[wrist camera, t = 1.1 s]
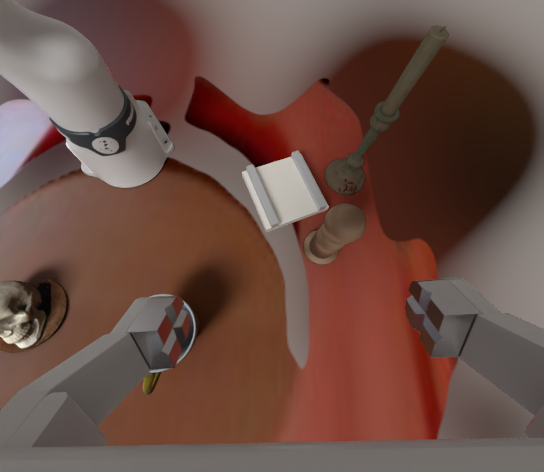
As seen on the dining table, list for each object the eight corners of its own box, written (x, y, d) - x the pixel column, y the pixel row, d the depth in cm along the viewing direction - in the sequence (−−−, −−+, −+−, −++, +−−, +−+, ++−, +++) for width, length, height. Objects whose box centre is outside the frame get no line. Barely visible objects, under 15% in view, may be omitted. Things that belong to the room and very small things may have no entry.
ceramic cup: (159, 294, 43) (132, 289, 34) (214, 301, 44) (203, 298, 34) (137, 375, 39) (100, 394, 30) (198, 382, 39) (181, 404, 30)
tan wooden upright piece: (297, 238, 49) (318, 202, 33) (327, 226, 50) (361, 186, 34) (312, 270, 47) (341, 247, 31) (343, 257, 48) (386, 229, 32)
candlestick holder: (324, 193, 52) (408, 48, 24) (324, 158, 55) (399, -9, 27) (364, 197, 53) (495, 59, 24) (362, 162, 56) (476, 2, 27)
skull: (72, 336, 39) (-27, 361, 31) (55, 345, 45) (-34, 368, 36) (66, 267, 42) (-26, 272, 34) (50, 283, 48) (-33, 291, 39)
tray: (242, 175, 52) (241, 167, 49) (299, 157, 55) (302, 149, 52) (266, 232, 48) (267, 227, 46) (326, 210, 51) (331, 203, 48)
